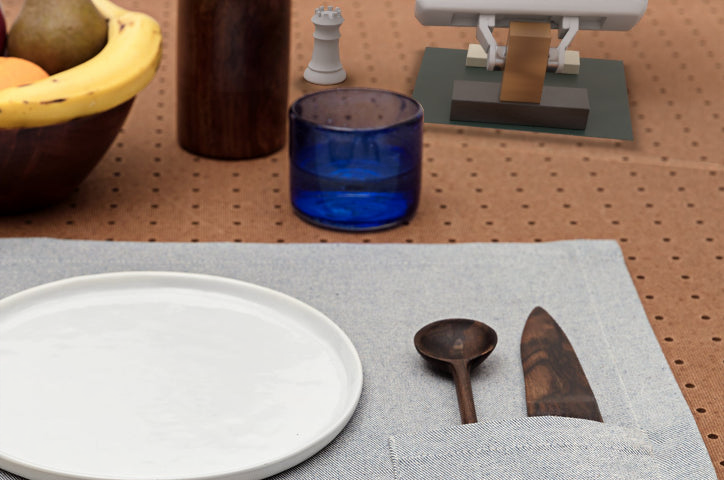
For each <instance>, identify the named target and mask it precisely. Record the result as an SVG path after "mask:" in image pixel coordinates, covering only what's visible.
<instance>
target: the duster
mask: <svg viewBox="0 0 724 480" xmlns="http://www.w3.org/2000/svg"><path fill="white" fill-rule="evenodd" d="M551 43H552V29H551V26H550V23H539V22H521V21H510V25H509V28H508V32H507V38H506V45H505V46H507V53H506V62H505V67H504V71H502V78H501V83H493V82H478V81H463V80H454V86H453V94H452V103H451V111H450V120H458V121H471V122H485V123H498V124H512V125H526V126H539V127H553V128H566V129H580V130H586V126H587V121H588V116H589V111H590V108H589V101H588V94H587V89H584V88H569V87H554V86H543V84H544V78H545V72H546V67H547V61H548V55H549V49H550V47H551Z"/></svg>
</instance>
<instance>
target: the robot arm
mask: <svg viewBox="0 0 724 480" xmlns="http://www.w3.org/2000/svg"><path fill="white" fill-rule="evenodd" d="M648 4H649V0H415V2H414V12H413V16H414V18H415V19H416V20H417V21H418V22H419V24H420V25H421V26H425V27H452V28H453V27H455V28H456V27H458V28H475V29H476V30H475V39H476V40H477V42H478V43H479V44H480V45H481V46H482V48H483V50H484V51H485V53H486V54H487V71H504V67H505V62H506V53H507V46H506V45H498V43H497V41H496V39H495V37H494V36H493V33H494V29H509V25H510V21H521V22H539V23H550V26H551V30H557V39H558V40H561V41H560V42H559V44H558V46H550V49H549V55H548V61H547V67H546V72H549V73H561V72H562V70H563V67H564V61H565V51H566V50H568V48H569V47H570V46H571V44H572V42H573V41H574V39H575V37H576V35H577V34H578V31H595V32H596V31H598V32H600V31H601V32H604V31H605V32H630V31H632V30H633V29H634V28H635V27H636V26H637V25H638V24H639V23H640V22H641V20H642V19H643V18H644V15H645V13H646V11H647V9H648Z"/></svg>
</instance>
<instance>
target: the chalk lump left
mask: <svg viewBox="0 0 724 480" xmlns="http://www.w3.org/2000/svg"><path fill="white" fill-rule="evenodd" d="M467 50H468V54H467V59H466V66H473V67H486V68H487V54H486V53H485V51H484V50H483V48H482V46H481V45H480V43H479V44H477V43H469V44H468V49H467Z"/></svg>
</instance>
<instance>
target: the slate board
mask: <svg viewBox="0 0 724 480" xmlns="http://www.w3.org/2000/svg"><path fill="white" fill-rule="evenodd" d="M467 54H468V49H464V48H448V47H437V46H436V47H435V46H425V48H424V52H423V55H422V59H421V63H420V66H419V69H418V73H417V77H416V80H415V84H414V88H413V91H412V95H411V98H413V99H415V100H416V101H418V102H419V103H420V104H421V105H422V107H423V109H424V122H422V124H423V123H426V124H435V125H447V126H448V125H449V126H459V127H471V128H481V129H482V128H483V129H494V130H504V131H505V130H506V131H518V132H529V133H530V132H531V133H541V134H552V135H563V136H572V137H573V136H575V137H585V138H586V137H587V138H599V139H609V140H619V141H621V140H622V141H633V142H634V133H633V126H632V119H631V111H630V103H629V96H628V87H627V82H626V81H627V80H626V75H625V74H626V73H625V66H624V60H618V59H605V58H590V57H579V59H580V67H579V72H578V74H565V73H549V72H545V78H544V84H543V86H554V87H569V88H584V89H587V94H588V101H589V108H590V111H589V116H588V121H587V126H586V130H580V129H566V128H553V127H539V126H526V125H512V124H498V123H485V122H471V121H458V120H450V111H451V103H452V94H453V86H454V80H463V81H478V82H493V83H501V78H502V71H487V68H486V67H473V66H466V59H467Z"/></svg>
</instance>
